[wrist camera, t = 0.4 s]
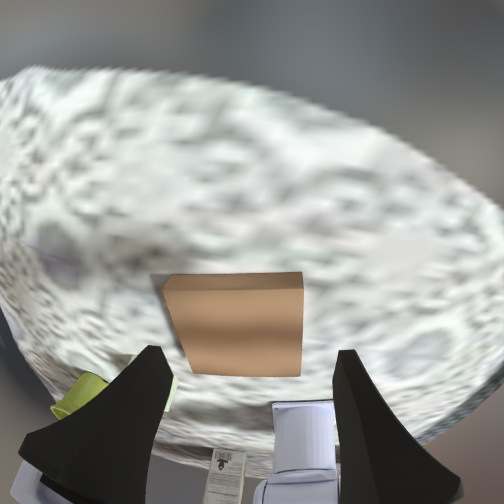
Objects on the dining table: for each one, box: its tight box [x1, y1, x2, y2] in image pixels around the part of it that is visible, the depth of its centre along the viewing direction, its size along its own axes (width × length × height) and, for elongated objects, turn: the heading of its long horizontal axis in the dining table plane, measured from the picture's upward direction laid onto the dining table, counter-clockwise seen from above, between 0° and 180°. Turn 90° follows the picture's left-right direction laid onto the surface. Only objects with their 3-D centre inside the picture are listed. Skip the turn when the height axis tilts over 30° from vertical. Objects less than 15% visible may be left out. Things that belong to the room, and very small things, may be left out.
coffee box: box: [202, 448, 246, 504], centre depth 34 cm, size 9×6×16 cm
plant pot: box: [50, 372, 109, 420], centre depth 29 cm, size 9×9×9 cm
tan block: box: [162, 272, 304, 377], centre depth 22 cm, size 10×10×2 cm
